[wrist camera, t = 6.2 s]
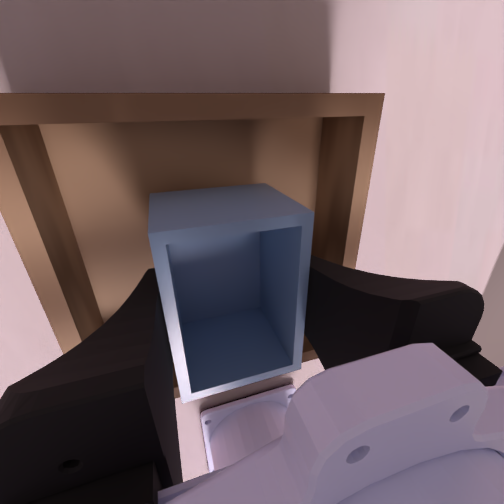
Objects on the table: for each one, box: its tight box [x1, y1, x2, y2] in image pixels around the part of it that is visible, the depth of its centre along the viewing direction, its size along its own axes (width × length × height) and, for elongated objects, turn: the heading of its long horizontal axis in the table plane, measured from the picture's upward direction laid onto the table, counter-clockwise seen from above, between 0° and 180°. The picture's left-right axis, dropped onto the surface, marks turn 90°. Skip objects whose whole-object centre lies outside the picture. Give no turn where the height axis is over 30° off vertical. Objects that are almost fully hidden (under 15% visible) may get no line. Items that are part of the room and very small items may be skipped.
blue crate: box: [148, 183, 314, 404], centre depth 12 cm, size 7×5×4 cm
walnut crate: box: [0, 93, 385, 398], centre depth 14 cm, size 14×14×4 cm
